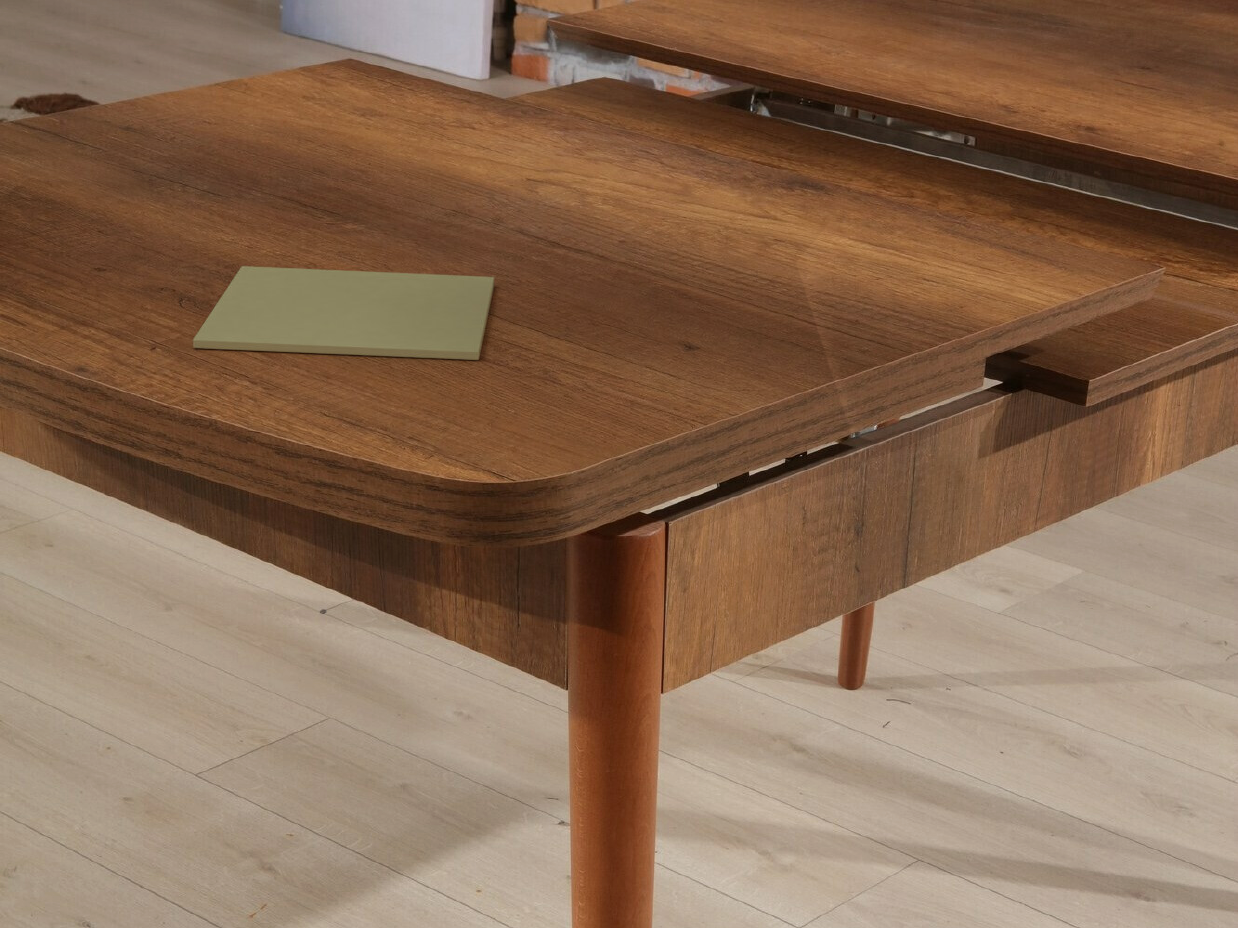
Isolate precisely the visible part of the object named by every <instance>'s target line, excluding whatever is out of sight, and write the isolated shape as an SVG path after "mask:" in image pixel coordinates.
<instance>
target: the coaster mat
mask: <svg viewBox="0 0 1238 928" xmlns="http://www.w3.org/2000/svg"><path fill="white" fill-rule="evenodd" d="M494 288H495V276H480V275H478V276H477V275H460V274H459V275H458V274H457V275H456V274H454V275H452V274H437V273H435V274H434V273H433V274H432V273H409V272H387V271H386V272H385V271H364V270H363V271H362V270H342V269H318V268H317V269H316V268H298V267H297V268H295V267H271V266H250V265H249V266H247V265H241V267H240V268H239V270H238V271H237V272H236V274H235V275H234V277H233V279H232V280H231V282H230V283H229V284H228V286H227V288H226V289H225V291H224V292H223V294H222V295H221V297H220V298H219V300H218V301H217V303H216V304H215V306H214V308H213V309H212V310H211V312H210V313H209V315H208V316H207V318H206V319H205V321H204V323H202V325H201V327H200V329H199V330H198V332H196V335H195V336H194V337H193V339H192V346H193V349H205V350H206V349H207V350H209V349H210V350H231V351H233V350H234V351H254V352H255V351H256V352H275V353H277V352H278V353H302V354H303V353H304V354H327V355H351V356H374V357H397V358H399V357H400V358H418V359H419V358H420V359H421V358H423V359H443V360H466V361H467V360H470V361H479V360H480V356H481V352H482V346H483V342H484V338H485V337H484V336H485V332H486V327H487V322H488V316H489V312H490V308H491V302H492V298H493V293H494Z"/></svg>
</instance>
